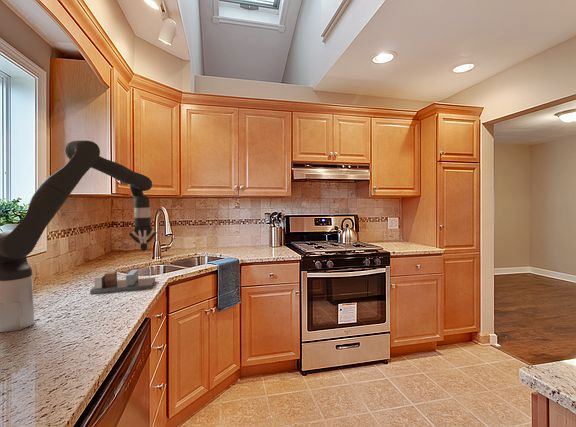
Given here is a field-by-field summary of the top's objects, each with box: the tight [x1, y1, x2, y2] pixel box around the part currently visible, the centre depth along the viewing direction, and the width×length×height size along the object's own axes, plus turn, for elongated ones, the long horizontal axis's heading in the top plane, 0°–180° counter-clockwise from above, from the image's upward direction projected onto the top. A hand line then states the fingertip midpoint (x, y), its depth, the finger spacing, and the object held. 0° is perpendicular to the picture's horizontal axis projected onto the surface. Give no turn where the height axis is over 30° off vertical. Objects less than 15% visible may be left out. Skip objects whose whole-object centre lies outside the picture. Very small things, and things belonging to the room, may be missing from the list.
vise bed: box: [90, 271, 156, 295], centre depth 151 cm, size 14×26×7 cm, turn 106°
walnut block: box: [105, 270, 118, 286], centre depth 149 cm, size 5×4×6 cm
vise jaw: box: [125, 269, 139, 286], centre depth 152 cm, size 12×3×5 cm, turn 16°
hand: (144, 250), depth 153 cm, fingers closed
